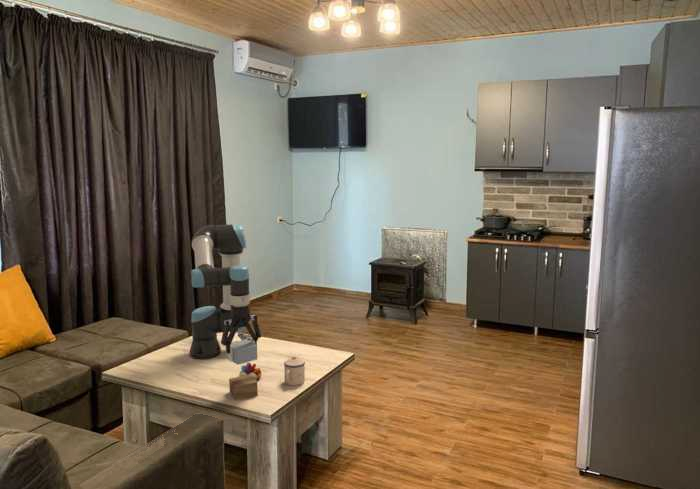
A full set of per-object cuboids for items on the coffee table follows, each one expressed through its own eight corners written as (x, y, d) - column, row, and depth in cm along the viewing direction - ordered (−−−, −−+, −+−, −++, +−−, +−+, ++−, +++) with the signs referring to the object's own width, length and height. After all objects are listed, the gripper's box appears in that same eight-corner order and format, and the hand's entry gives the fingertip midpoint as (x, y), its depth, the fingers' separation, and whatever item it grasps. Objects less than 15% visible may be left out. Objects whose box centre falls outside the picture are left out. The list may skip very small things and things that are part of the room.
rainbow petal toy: (257, 383, 233) (256, 367, 232) (236, 381, 235) (235, 365, 234) (264, 376, 241) (263, 360, 240) (243, 374, 243) (243, 358, 242)
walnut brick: (229, 392, 225) (229, 378, 224) (250, 387, 229) (250, 374, 228) (236, 400, 217) (235, 386, 216) (257, 395, 221) (257, 382, 220)
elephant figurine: (256, 342, 285) (242, 340, 279) (250, 348, 288) (236, 346, 281) (252, 327, 291) (238, 324, 285) (246, 333, 294) (232, 331, 287)
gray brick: (226, 358, 221) (226, 344, 220) (245, 353, 227) (245, 339, 226) (237, 364, 214) (237, 350, 213) (257, 359, 220) (257, 345, 219)
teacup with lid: (289, 376, 241) (289, 351, 239) (308, 379, 238) (308, 353, 236) (277, 386, 229) (276, 360, 228) (296, 390, 226) (296, 363, 225)
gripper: (218, 311, 207) (220, 366, 211) (269, 302, 220) (270, 354, 224) (210, 306, 213) (212, 361, 217) (260, 298, 226) (261, 349, 230)
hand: (242, 357), depth 220 cm, fingers closed on gray brick, 9 cm apart
